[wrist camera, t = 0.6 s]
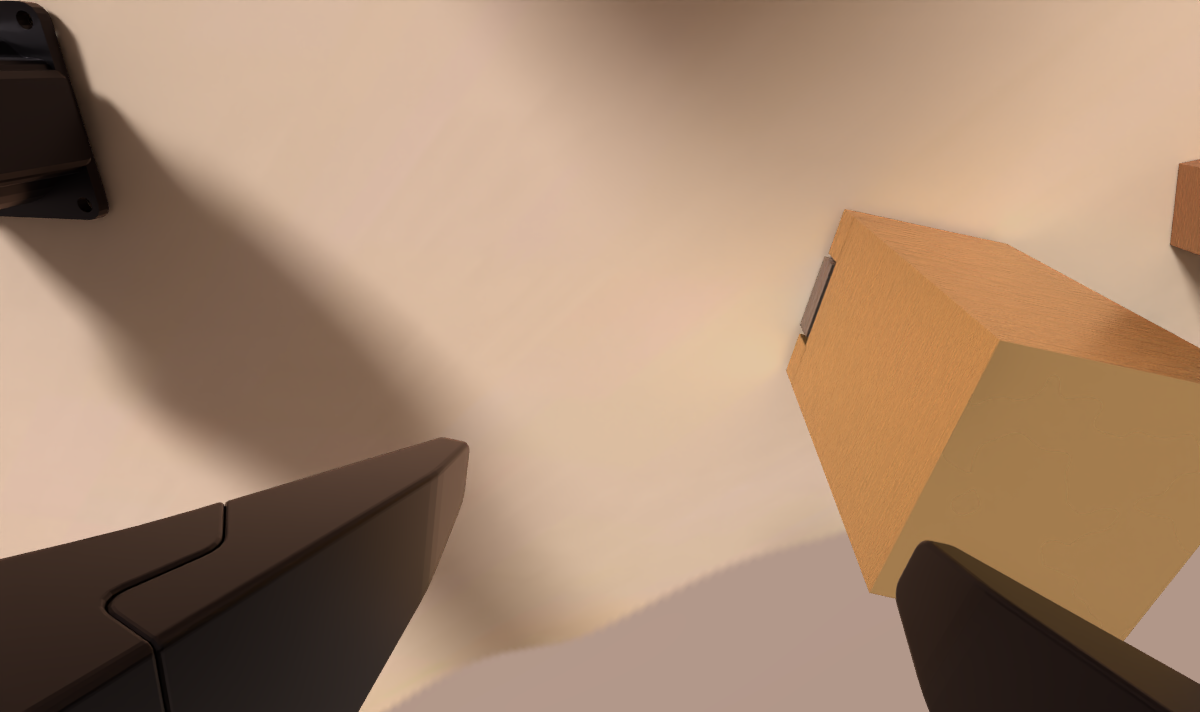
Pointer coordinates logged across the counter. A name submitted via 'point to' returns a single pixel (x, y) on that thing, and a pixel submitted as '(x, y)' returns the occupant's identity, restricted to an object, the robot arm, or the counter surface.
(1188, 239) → the rig
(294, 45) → the counter surface
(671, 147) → the counter surface
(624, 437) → the counter surface
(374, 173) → the counter surface
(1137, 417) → the tan rectangular block
